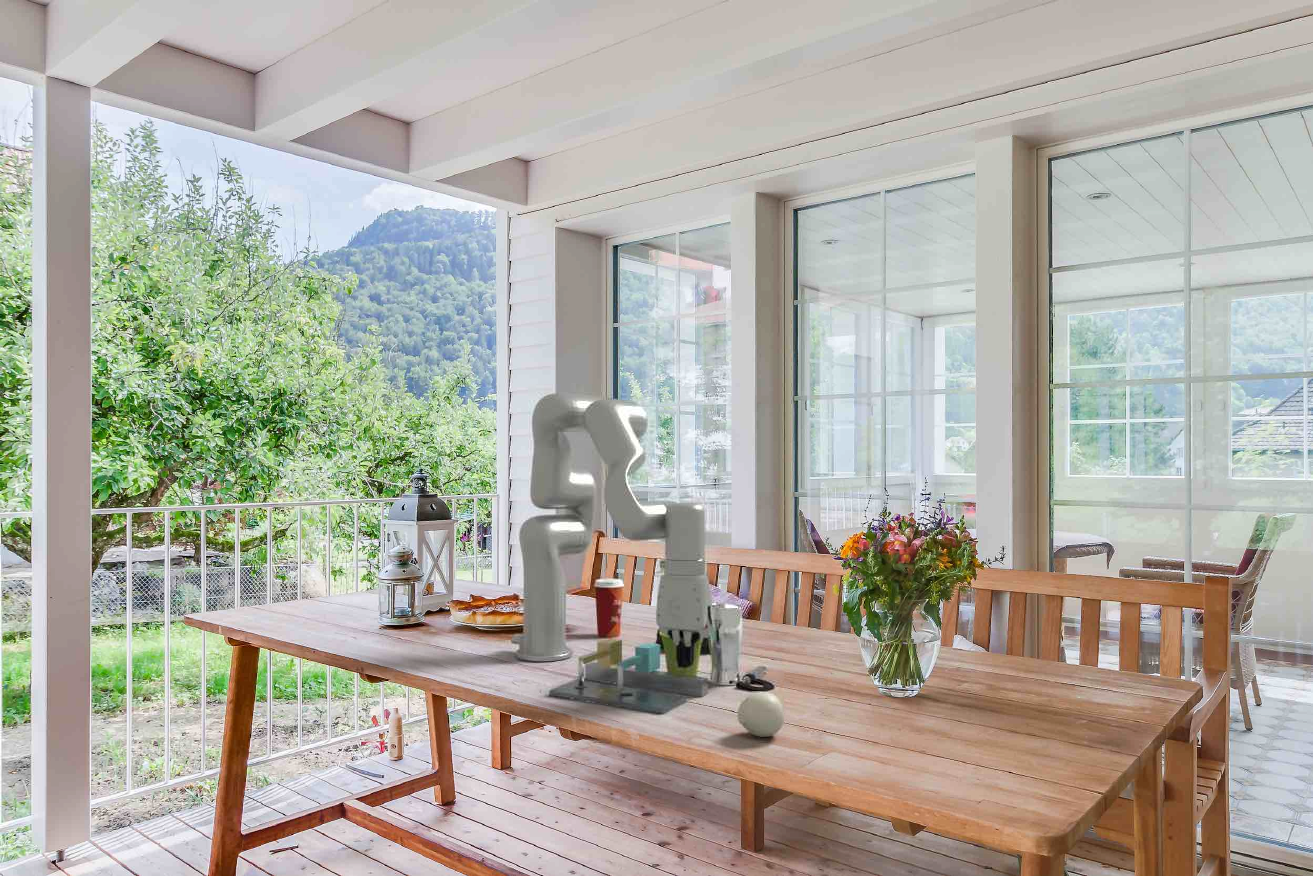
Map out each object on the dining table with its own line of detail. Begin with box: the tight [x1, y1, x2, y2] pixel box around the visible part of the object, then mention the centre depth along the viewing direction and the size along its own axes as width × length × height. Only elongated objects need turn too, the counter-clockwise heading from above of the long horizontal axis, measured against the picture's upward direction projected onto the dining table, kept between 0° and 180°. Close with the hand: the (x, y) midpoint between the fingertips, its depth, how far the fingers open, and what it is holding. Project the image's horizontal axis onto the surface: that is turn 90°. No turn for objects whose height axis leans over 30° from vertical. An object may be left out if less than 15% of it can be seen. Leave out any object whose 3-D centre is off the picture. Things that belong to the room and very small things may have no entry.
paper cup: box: [593, 578, 625, 639], centre depth 212 cm, size 8×8×14 cm
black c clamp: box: [735, 665, 775, 692], centre depth 166 cm, size 15×7×2 cm, turn 153°
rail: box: [584, 661, 709, 698], centre depth 162 cm, size 26×2×3 cm, turn 61°
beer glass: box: [708, 602, 743, 687], centre depth 166 cm, size 7×7×15 cm
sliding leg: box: [617, 642, 661, 692], centre depth 158 cm, size 3×13×6 cm, turn 151°
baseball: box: [737, 691, 785, 738], centre depth 132 cm, size 7×7×7 cm
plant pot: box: [659, 630, 703, 676], centre depth 172 cm, size 9×9×9 cm
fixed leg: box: [577, 638, 623, 686], centre depth 162 cm, size 3×13×6 cm, turn 151°
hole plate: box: [549, 679, 688, 715], centre depth 153 cm, size 24×9×1 cm, turn 61°
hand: (685, 666), depth 158 cm, fingers closed
